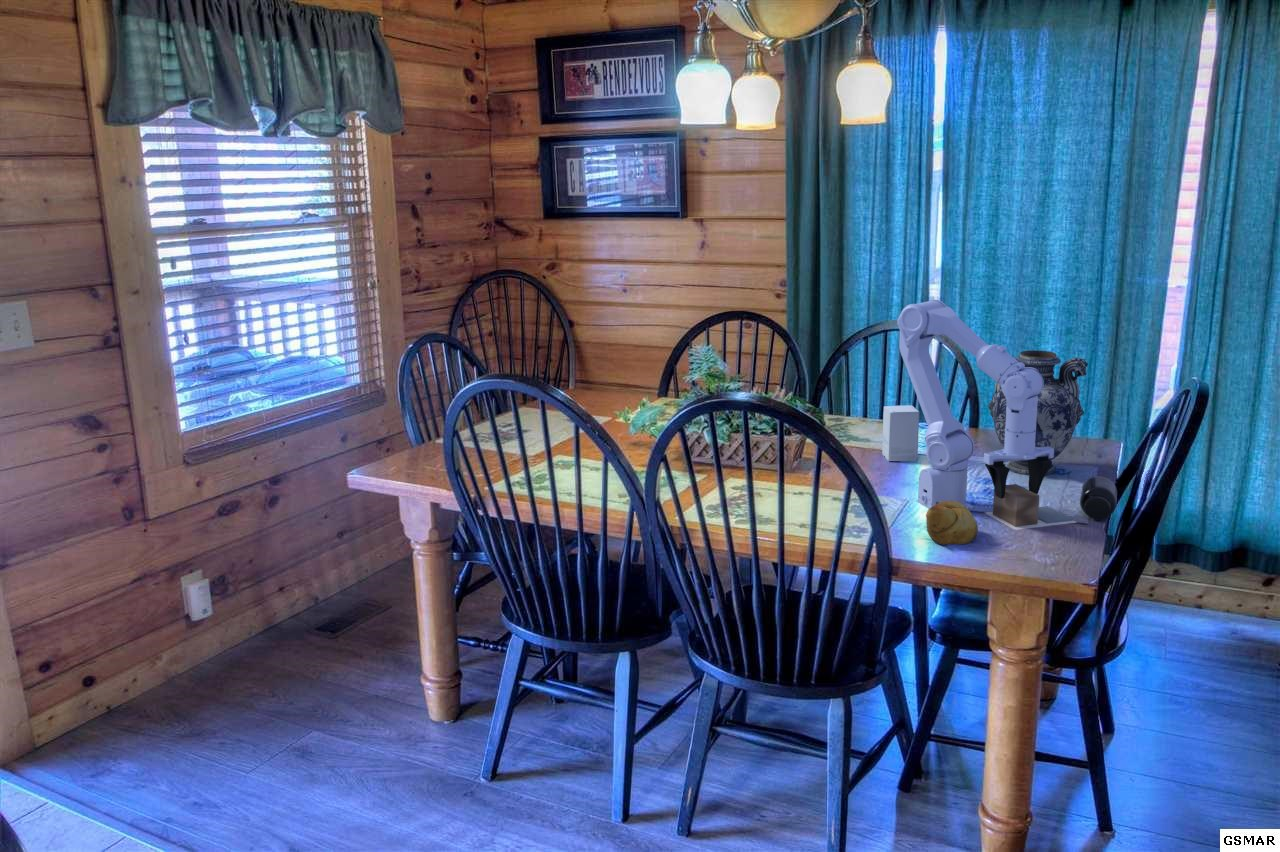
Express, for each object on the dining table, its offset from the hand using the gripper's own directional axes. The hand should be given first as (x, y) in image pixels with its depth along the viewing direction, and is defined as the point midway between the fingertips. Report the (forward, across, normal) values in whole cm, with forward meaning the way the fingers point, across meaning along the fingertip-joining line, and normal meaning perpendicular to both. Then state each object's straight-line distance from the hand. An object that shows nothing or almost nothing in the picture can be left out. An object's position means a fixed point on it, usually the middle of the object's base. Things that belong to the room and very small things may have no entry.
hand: (1016, 495), depth 208 cm
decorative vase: (+6, +24, +31) cm, 40 cm away
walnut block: (+5, 0, 0) cm, 5 cm away
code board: (+6, +3, 0) cm, 7 cm away
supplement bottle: (+2, +22, +3) cm, 22 cm away
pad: (+5, +7, 0) cm, 9 cm away
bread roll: (+6, -17, -4) cm, 18 cm away
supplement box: (+6, 0, +50) cm, 50 cm away
